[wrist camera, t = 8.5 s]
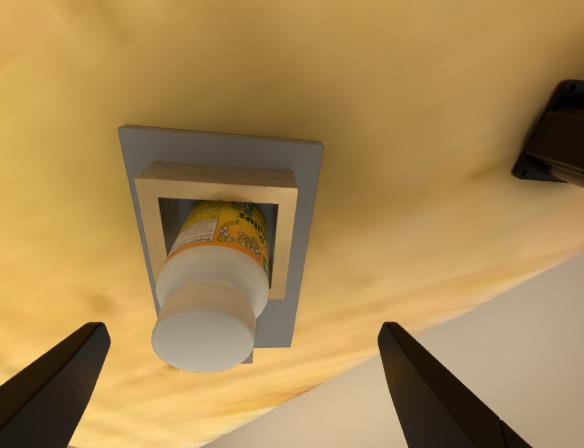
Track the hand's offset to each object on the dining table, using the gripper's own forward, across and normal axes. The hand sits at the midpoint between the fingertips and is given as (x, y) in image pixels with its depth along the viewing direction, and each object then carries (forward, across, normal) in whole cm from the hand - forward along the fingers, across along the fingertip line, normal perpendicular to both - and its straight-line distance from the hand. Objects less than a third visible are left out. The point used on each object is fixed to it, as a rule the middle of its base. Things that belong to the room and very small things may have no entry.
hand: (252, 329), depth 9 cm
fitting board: (+12, +2, +6) cm, 13 cm away
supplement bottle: (+11, +2, +2) cm, 11 cm away
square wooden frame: (+12, +2, +2) cm, 12 cm away
